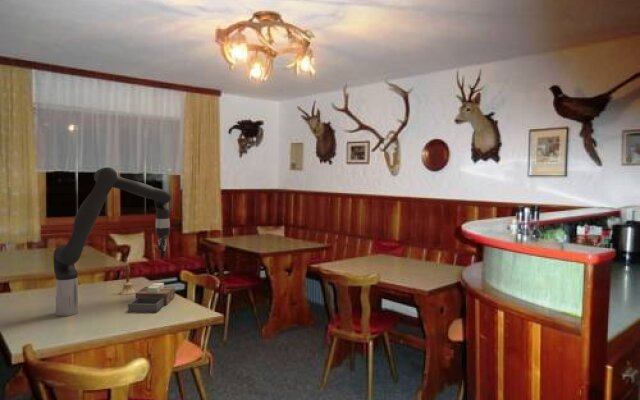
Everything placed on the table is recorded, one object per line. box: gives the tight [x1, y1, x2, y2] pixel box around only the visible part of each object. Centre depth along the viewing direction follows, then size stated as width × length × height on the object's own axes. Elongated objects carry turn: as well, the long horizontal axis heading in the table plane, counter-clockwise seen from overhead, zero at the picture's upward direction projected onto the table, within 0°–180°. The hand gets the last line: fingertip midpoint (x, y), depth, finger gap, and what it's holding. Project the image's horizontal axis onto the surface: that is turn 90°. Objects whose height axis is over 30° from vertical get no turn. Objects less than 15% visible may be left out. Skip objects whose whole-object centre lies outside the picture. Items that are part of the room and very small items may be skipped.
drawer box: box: [135, 286, 176, 306], centre depth 244 cm, size 14×16×6 cm
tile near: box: [147, 285, 160, 293], centre depth 241 cm, size 5×5×2 cm
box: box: [127, 297, 166, 314], centre depth 231 cm, size 12×14×4 cm
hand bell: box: [119, 264, 137, 296], centre depth 259 cm, size 8×8×16 cm
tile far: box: [151, 282, 165, 290], centre depth 247 cm, size 5×5×2 cm
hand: (162, 257), depth 255 cm, fingers closed
